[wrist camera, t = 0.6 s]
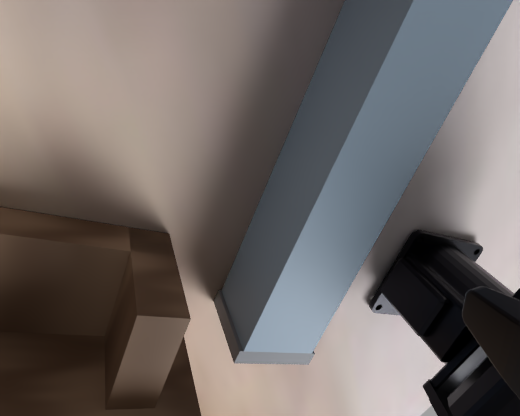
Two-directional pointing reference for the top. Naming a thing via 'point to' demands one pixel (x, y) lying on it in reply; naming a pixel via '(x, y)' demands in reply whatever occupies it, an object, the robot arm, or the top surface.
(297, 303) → the bed rail
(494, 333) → the robot arm
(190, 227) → the top surface
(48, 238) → the headboard posts
